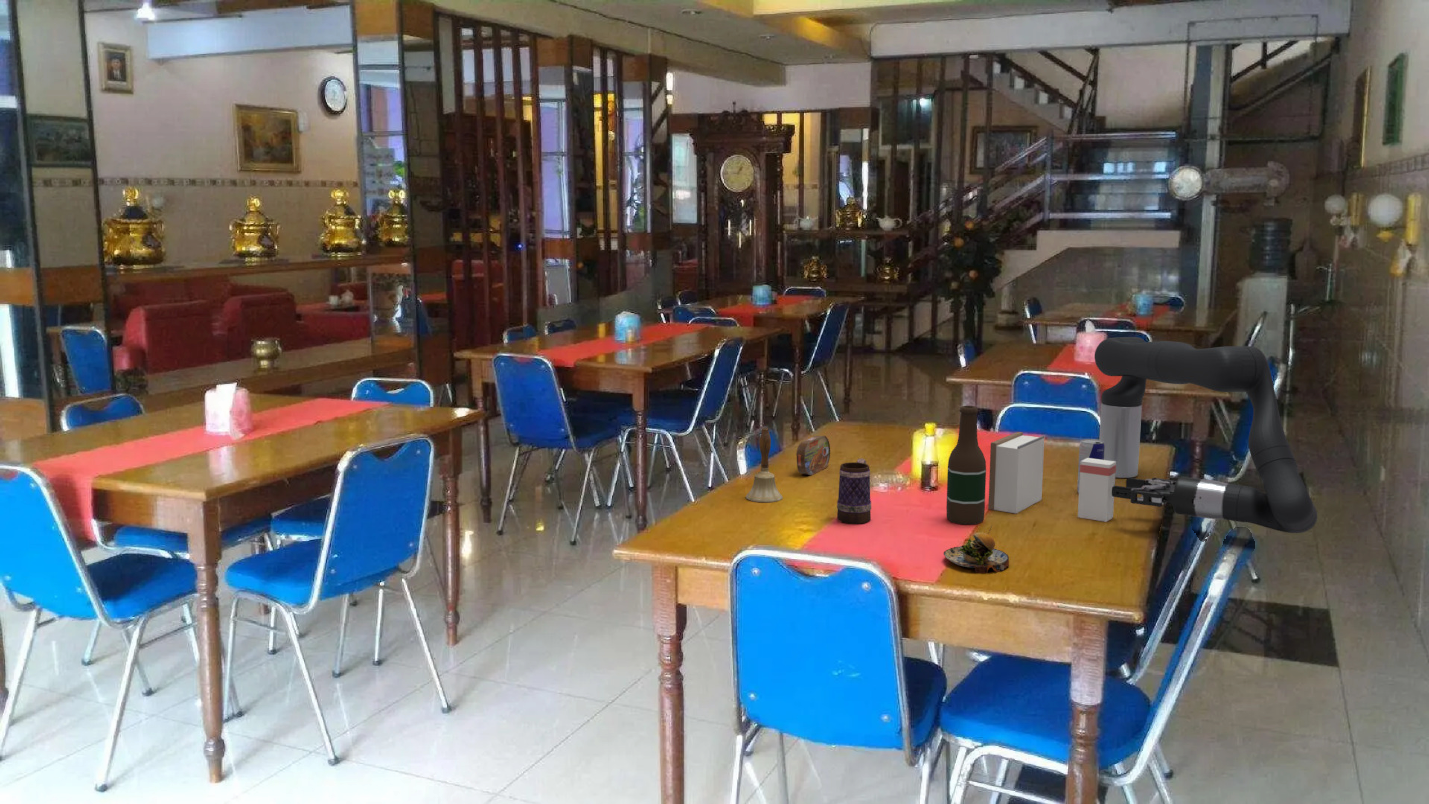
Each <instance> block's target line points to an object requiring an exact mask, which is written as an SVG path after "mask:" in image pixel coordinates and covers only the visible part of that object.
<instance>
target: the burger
mask: <svg viewBox="0 0 1429 804" xmlns="http://www.w3.org/2000/svg"><path fill="white" fill-rule="evenodd" d="M992 527H993V525H991V526H990V528H992ZM990 532H991V529H989V531H988V533H986V532H975V533H974V534H973V535H972V536H973V540H972V539H971V538H970V537H969V538H968V539H967V542H966V543H965V544H963V545H960V546H954V547H950V548H948V549H946V550H945V551H943V556H945V558H946V559H947V560H948V561H950V562H952V563H953V564H954V565H957V566H959V567H960V566H961V567H964V568H969V569H970V568H971V569H974V571H975V573H976V574H988V571H989V569H990V568H992V569H993V570H992V571H994V572H996V573H999V572H1001V571H1002V572H1003V571H1004V570H1005V569H1007V567H1008V568H1009V566H1010V557H1009V555H1008V553H1006V552H1004V551H1003V550H1000V549H997V548H995V546H996V542H995V540H994V538H993V537H992V535H991V534H989V533H990Z"/></svg>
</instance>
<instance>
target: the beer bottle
mask: <svg viewBox="0 0 1429 804" xmlns="http://www.w3.org/2000/svg"><path fill="white" fill-rule="evenodd" d="M959 412H960V418H959V428H958V429H959V430H958V438H957V442H956V445H955V447H954V448H953V449H952V451H951V453H950V455H949V457H948V463H947V476H946V477H947V478H946V479H947V480H946V481H947V482H946V485H947V486H946V518H947V520H949V522H950V523H953V524H957V525H963V526H964V525H965V526H967V525H972V526H973V525H978V524H980V523H982V522H984V521H985V509H986V508H985V506H986V480H987V462H986V461H987V460H986V457H985V454H984V453H983V451H982V450H981V448H980V446H979V442H978V419H977V418H978V415H977V414H978V413H979V409H978V407H976V406H974V405H963V406H960V408H959Z"/></svg>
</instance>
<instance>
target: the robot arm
mask: <svg viewBox="0 0 1429 804" xmlns="http://www.w3.org/2000/svg"><path fill="white" fill-rule="evenodd" d="M1094 364H1095V366H1096V367H1097V369H1098V370H1099V371H1100V372H1101V373H1102V374H1103V375H1105V376H1109V377H1121V378H1120V380H1119V381H1118V382H1117V383H1116V384H1114V385H1113V386H1112V387H1111V386H1110V387H1109V388H1107V389H1105V390H1103V391H1102V393H1101V398H1100V422H1099V439H1098V440H1101V441H1103V442H1104V445H1105V449H1104V460H1108V461H1115V462H1116V473H1115V478H1119V479H1125V478H1126V480H1125V486H1122V485H1121V486H1120V485H1115V486H1113V487H1112V496H1113V497H1114V498H1119V499H1127V500H1130V504H1133V505H1134V504H1135V505H1145V506H1150V507H1157V508H1160V507H1163V505H1166V504H1167V503H1168V504H1171V505H1172V506H1173V507H1172V509H1173V511H1174V512H1175V514H1177V515H1182V516H1190V517H1195V518H1202V519H1203V518H1204V519H1210V520H1225V521H1233V522H1237V523H1238V522H1239V523H1247V524H1248V523H1250V524H1253V525H1257V526H1260V527H1263V528H1268V529H1271V530H1275V531H1278V532H1284V533H1290V534H1301V533H1305V532H1308V531H1310V530H1311V529H1313V527H1314V526H1316V524H1317V520H1318V511H1317V509H1316V506H1315V504H1314V503H1313V500H1312V498H1311V497H1310V494H1309V492H1308V490H1307V489H1308V488H1307V487H1306V485H1305V483H1304V482H1303V479H1302V477H1301V474H1300V470H1299V466H1298V463H1297V460H1296V457H1295V456H1294V453H1293V451H1292V449H1291V447H1290V446H1291V445H1290V444H1289V442H1288V438H1287V437H1286V433H1285V430H1284V426H1283V424H1282V423H1283V422H1282V419H1281V416H1280V411H1279V410H1280V409H1279V406H1278V405H1279V404H1278V401H1277V396H1276V395H1277V394H1276V391H1275V387H1274V382H1273V376H1272V374H1271V373H1272V372H1271V369H1270V365H1269V362H1268V360H1267V358H1266V355H1265V354H1264V353H1263V351H1262V350H1261V349H1259V348H1258V347H1255V346H1251V345H1250V346H1249V345H1242V346H1241V345H1237V346H1236V345H1235V346H1234V345H1233V346H1232V345H1231V346H1230V345H1229V346H1228V345H1226V346H1216V347H1208V348H1195V347H1194V346H1193V345H1191V344H1189V343H1186V342H1181V341H1171V340H1162V341H1161V340H1157V341H1156V340H1155V341H1147V342H1146V341H1145V340H1144V339H1143V338H1142V337H1138V336H1128V337H1127V336H1123V337H1122V336H1121V337H1109V338H1106V339H1104V340H1102V341H1101V342H1100V343H1098V344H1097V346H1096V349H1095V351H1094ZM1147 380H1148V381H1154V382H1159V383H1163V384H1170V385H1171V384H1172V385H1189V384H1193V385H1194V386H1195V385H1196V386H1200V387H1202V388H1205V389H1208V390H1211V391H1215V392H1220V393H1235V392H1236V393H1244V392H1245V393H1246V394H1247V396H1248V397H1249V400H1250V402H1251V405H1252V412H1253V413H1252V414H1253V415H1252V421H1251V424H1250V425H1251V426H1250V429H1249V435H1248V450H1249V453H1250V456H1251V459H1252V462H1253V465H1254V467H1255V470H1256V472H1257V475H1258V477H1259V479H1260V481H1261V482H1262V484H1263V488H1264V491H1265V492H1263V491H1261V490H1259V489H1258V488H1256V487H1253V486H1249V485H1242V484H1233V483H1226V482H1222V481H1219V480H1212V479H1204V478H1198V477H1188V476H1180V477H1178V478H1177V480H1174V479H1173V480H1172V479H1165V478H1158V477H1152V478H1145V479H1142V478H1135V477H1137V476H1138V474H1139V459H1140V458H1139V457H1140V445H1141V443H1140V441H1141V427H1142V426H1141V423H1142V410H1143V409H1142V408H1143V398H1144V396H1145V393H1146V386H1147ZM1138 495H1141V496H1140V497H1139V496H1138Z"/></svg>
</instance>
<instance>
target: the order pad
mask: <svg viewBox="0 0 1429 804" xmlns="http://www.w3.org/2000/svg"><path fill="white" fill-rule="evenodd" d="M1044 452H1045V435H1041V436H1032V435H1031V436H1030V435H1024V432H1023V431H1022V432H1021V431H1016V432H1014V433H1012V434H1010V435H1006V436H1004V437H1001V438H999V439H996V440H994V441H992V442H990V452H989V454H990V455H989V456H990V457H989V458H990V459H989V479H988V480H989V481H988V485H989V486H988V506H987V509H988V510H992V511H999V512H1005V513H1011V514H1012V513H1013V514H1018V513H1020V512H1022V511H1023V510H1025V509H1027V508H1029V507H1030V506H1032V505H1034V504H1036V503H1039V502H1040V501H1042V495H1043V476H1044V475H1043V473H1044V457H1045V456H1044V455H1045V454H1044Z"/></svg>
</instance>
